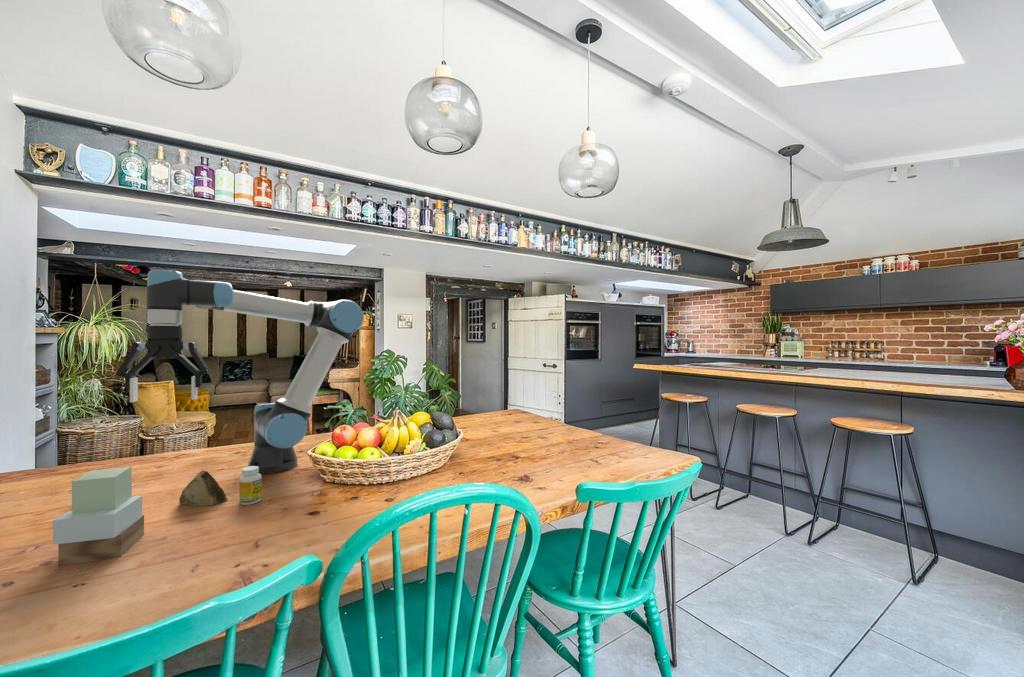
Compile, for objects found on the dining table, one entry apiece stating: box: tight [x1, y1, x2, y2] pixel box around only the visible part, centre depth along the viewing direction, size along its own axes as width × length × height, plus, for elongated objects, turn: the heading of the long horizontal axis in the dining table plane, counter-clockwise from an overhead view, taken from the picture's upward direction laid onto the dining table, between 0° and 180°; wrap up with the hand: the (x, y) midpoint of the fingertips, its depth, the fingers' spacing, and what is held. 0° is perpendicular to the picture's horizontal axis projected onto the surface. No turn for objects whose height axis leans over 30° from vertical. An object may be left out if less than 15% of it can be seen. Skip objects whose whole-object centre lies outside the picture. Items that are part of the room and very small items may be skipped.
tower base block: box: [57, 514, 145, 567], centre depth 89 cm, size 10×10×5 cm
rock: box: [178, 469, 228, 506], centre depth 114 cm, size 11×9×10 cm
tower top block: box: [52, 495, 143, 545], centre depth 88 cm, size 10×10×5 cm
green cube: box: [71, 466, 133, 514], centre depth 89 cm, size 7×7×7 cm
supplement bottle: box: [238, 466, 263, 506], centre depth 114 cm, size 5×5×10 cm
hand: (164, 400), depth 114 cm, fingers open, 13 cm apart
